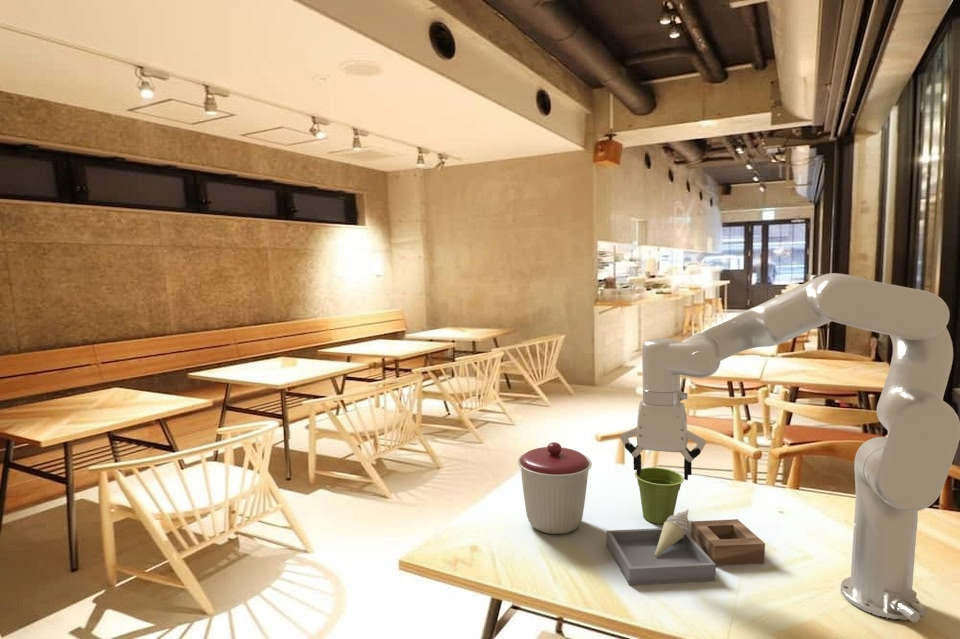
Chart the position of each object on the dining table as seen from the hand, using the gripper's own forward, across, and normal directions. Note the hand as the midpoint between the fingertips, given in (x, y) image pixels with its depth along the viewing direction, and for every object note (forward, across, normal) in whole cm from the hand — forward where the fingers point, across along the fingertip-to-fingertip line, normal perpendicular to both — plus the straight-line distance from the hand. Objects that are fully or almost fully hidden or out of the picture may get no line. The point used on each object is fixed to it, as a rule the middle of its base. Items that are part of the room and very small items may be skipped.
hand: (662, 475), depth 118 cm
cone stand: (+20, -13, -10) cm, 26 cm away
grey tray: (+20, +1, 0) cm, 20 cm away
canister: (+19, +26, -9) cm, 34 cm away
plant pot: (+20, +2, -22) cm, 29 cm away
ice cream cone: (+18, +2, 0) cm, 19 cm away
